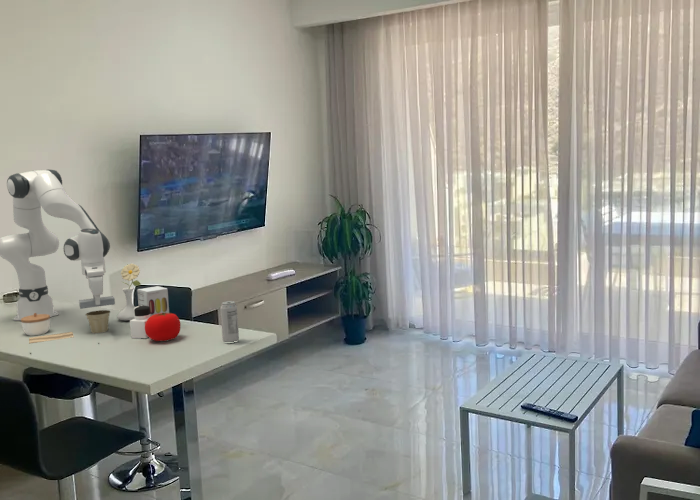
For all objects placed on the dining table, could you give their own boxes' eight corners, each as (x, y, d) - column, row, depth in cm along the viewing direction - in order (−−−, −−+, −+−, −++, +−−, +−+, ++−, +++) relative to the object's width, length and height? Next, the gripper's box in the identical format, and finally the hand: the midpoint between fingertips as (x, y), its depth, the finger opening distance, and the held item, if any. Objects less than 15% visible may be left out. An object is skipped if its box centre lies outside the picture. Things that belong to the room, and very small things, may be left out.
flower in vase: (111, 321, 290) (105, 265, 287) (129, 315, 301) (124, 261, 297) (135, 323, 285) (130, 265, 282) (152, 317, 296) (147, 261, 293)
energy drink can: (233, 338, 252) (230, 300, 250) (242, 341, 248) (239, 302, 246) (219, 342, 248) (216, 303, 246) (228, 345, 244) (226, 304, 242)
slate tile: (79, 306, 269) (78, 300, 269) (113, 301, 274) (112, 295, 274) (80, 308, 264) (79, 302, 263) (114, 304, 269) (114, 298, 269)
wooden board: (29, 340, 265) (29, 337, 264) (72, 334, 271) (72, 331, 271) (29, 346, 256) (29, 343, 255) (74, 339, 262) (73, 337, 262)
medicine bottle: (157, 334, 265) (154, 304, 263) (146, 339, 258) (143, 308, 257) (142, 333, 267) (139, 304, 266) (130, 338, 260) (128, 308, 259)
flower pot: (91, 331, 275) (89, 310, 274) (114, 329, 276) (113, 309, 274) (84, 337, 266) (82, 315, 264) (108, 335, 266) (106, 314, 265)
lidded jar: (40, 339, 265) (38, 316, 264) (17, 339, 268) (14, 316, 266) (57, 332, 276) (55, 310, 274) (34, 332, 278) (32, 310, 277)
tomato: (171, 344, 248) (169, 317, 247) (139, 344, 250) (137, 317, 249) (187, 334, 262) (185, 308, 261) (157, 334, 264) (155, 308, 263)
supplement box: (149, 332, 268) (145, 291, 265) (139, 329, 275) (136, 289, 272) (171, 328, 274) (168, 287, 272) (161, 324, 281) (158, 285, 278)
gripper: (83, 266, 275) (86, 299, 277) (87, 273, 257) (90, 308, 258) (99, 265, 278) (102, 297, 280) (104, 271, 259) (107, 306, 261)
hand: (97, 303), depth 269 cm, fingers closed on slate tile, 6 cm apart
